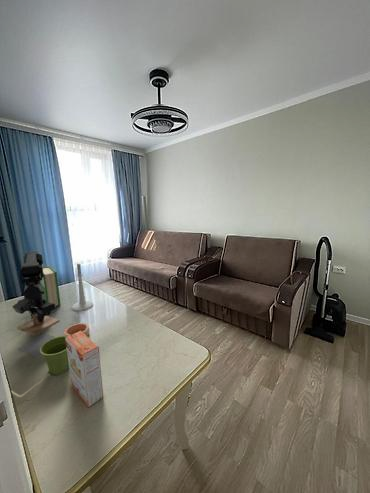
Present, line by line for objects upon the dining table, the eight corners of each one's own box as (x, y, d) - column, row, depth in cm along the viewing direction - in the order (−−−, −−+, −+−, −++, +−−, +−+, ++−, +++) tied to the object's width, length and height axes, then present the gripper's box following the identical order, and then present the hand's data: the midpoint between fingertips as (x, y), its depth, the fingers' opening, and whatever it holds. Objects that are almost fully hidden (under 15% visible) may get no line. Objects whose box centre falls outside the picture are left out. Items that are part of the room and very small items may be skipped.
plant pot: (52, 385, 79) (49, 359, 77) (37, 371, 85) (33, 347, 83) (82, 365, 89) (79, 341, 87) (66, 354, 95) (64, 332, 93)
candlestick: (86, 300, 148) (82, 259, 142) (97, 305, 141) (93, 262, 135) (68, 307, 138) (63, 263, 132) (78, 313, 130) (73, 267, 124)
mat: (17, 350, 98) (17, 348, 98) (45, 334, 110) (44, 333, 110) (35, 357, 93) (35, 356, 93) (62, 340, 105) (62, 339, 105)
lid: (17, 329, 96) (15, 317, 95) (43, 316, 107) (41, 305, 106) (34, 335, 92) (32, 323, 90) (59, 321, 102) (58, 310, 101)
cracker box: (70, 386, 79) (64, 336, 75) (86, 376, 83) (81, 329, 79) (87, 409, 70) (81, 355, 66) (104, 397, 74) (99, 345, 70)
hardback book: (60, 305, 140) (56, 271, 135) (47, 309, 135) (43, 274, 130) (53, 297, 152) (49, 265, 147) (41, 300, 147) (37, 268, 142)
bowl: (60, 340, 105) (59, 332, 104) (78, 328, 115) (77, 321, 114) (76, 346, 101) (75, 338, 100) (93, 333, 111) (93, 325, 110)
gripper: (1, 294, 92) (7, 326, 95) (28, 302, 85) (33, 336, 88) (28, 285, 102) (32, 314, 105) (54, 291, 95) (58, 322, 98)
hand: (38, 321), depth 99 cm, fingers closed on lid, 3 cm apart
